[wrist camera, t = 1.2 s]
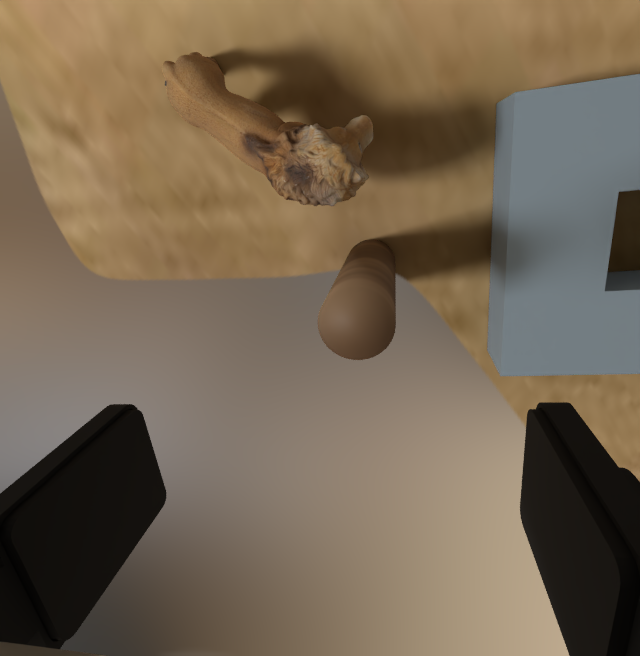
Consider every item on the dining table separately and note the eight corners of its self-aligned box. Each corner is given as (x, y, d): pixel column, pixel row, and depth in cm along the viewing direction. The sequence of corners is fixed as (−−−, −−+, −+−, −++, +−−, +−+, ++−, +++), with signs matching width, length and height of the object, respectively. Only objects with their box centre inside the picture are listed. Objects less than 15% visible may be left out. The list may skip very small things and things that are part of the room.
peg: (345, 241, 28) (313, 289, 17) (394, 237, 28) (393, 284, 17) (349, 288, 30) (322, 360, 19) (396, 285, 29) (397, 358, 18)
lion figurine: (391, 135, 25) (389, 121, 17) (356, 215, 28) (340, 236, 19) (178, 41, 26) (76, -18, 17) (161, 128, 28) (62, 112, 19)
